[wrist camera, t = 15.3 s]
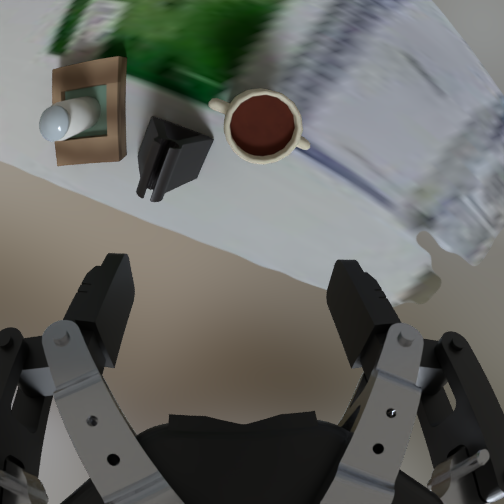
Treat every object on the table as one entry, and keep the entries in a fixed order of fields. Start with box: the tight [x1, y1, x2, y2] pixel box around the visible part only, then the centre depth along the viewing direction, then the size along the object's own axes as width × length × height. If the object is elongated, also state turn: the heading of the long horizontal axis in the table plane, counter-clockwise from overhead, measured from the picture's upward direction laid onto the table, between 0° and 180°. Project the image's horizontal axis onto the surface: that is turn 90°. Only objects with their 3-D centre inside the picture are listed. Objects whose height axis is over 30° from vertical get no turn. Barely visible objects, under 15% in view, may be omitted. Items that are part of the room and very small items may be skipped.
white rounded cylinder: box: [39, 96, 101, 142], centre depth 26 cm, size 5×5×8 cm
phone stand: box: [136, 117, 214, 202], centre depth 31 cm, size 9×6×12 cm, turn 64°
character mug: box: [209, 88, 310, 165], centre depth 29 cm, size 11×7×13 cm, turn 65°
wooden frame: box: [52, 56, 127, 166], centre depth 30 cm, size 14×10×3 cm
